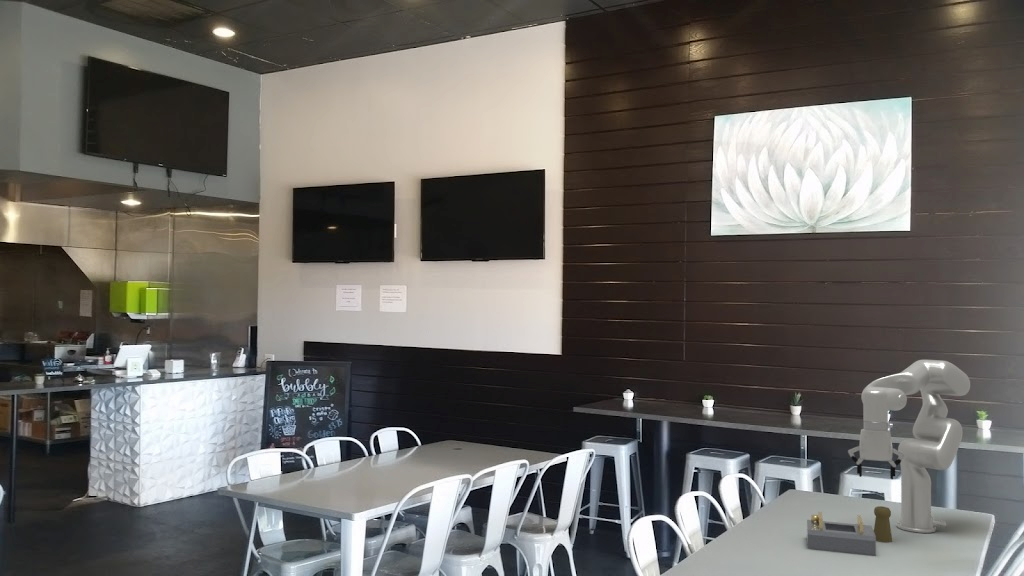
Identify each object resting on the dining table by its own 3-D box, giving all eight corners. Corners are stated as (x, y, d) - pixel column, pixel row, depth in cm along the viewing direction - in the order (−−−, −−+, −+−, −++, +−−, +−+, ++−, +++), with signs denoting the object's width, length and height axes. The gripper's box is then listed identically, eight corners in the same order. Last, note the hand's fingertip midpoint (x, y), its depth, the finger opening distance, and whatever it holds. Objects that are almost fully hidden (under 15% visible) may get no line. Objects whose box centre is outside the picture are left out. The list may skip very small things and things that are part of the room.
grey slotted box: (871, 544, 265) (871, 514, 265) (875, 555, 252) (875, 525, 252) (806, 537, 271) (807, 509, 272) (807, 548, 258) (807, 518, 258)
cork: (894, 543, 267) (894, 509, 267) (874, 541, 268) (875, 508, 268) (889, 538, 272) (889, 505, 273) (870, 536, 274) (870, 504, 274)
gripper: (903, 426, 271) (903, 477, 271) (847, 423, 278) (848, 473, 278) (904, 429, 265) (905, 481, 264) (847, 426, 271) (848, 477, 271)
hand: (876, 477), depth 271 cm, fingers open, 9 cm apart
